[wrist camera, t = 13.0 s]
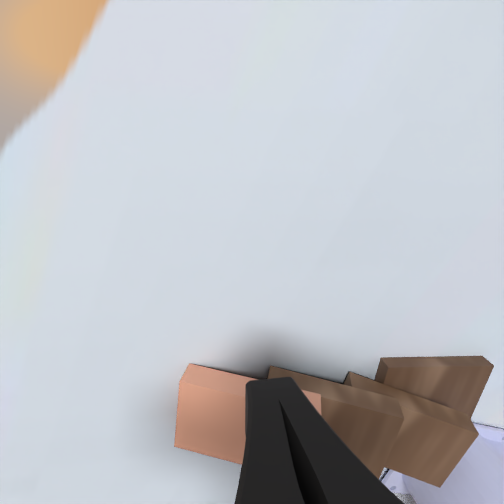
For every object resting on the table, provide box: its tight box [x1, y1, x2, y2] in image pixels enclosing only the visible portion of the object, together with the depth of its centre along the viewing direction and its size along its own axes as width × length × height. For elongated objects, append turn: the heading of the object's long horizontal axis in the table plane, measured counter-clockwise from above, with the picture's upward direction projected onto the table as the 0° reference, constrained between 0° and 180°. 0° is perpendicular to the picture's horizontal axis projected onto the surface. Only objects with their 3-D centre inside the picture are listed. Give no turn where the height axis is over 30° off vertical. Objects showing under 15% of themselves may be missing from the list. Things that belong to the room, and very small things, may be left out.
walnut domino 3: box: [343, 372, 479, 488], centre depth 22 cm, size 2×5×8 cm
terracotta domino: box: [174, 363, 321, 464], centre depth 20 cm, size 2×5×8 cm
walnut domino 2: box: [374, 356, 494, 419], centre depth 24 cm, size 2×5×8 cm
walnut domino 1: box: [267, 366, 404, 479], centre depth 21 cm, size 2×5×8 cm
